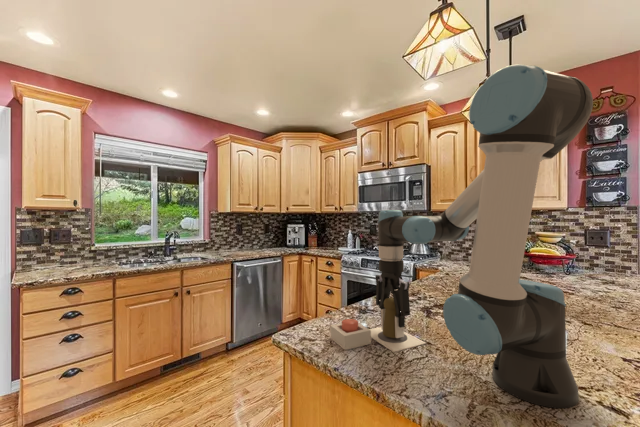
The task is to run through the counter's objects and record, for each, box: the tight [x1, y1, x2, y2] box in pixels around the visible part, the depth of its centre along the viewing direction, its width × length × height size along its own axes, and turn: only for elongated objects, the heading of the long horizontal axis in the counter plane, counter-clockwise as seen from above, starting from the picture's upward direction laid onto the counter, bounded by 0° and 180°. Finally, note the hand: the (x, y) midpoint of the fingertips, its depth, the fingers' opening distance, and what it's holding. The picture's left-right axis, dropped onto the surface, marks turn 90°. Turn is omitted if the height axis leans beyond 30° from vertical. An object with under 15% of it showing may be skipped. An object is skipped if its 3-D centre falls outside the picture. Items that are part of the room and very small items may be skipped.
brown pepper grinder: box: [383, 297, 397, 338], centre depth 89 cm, size 6×6×11 cm
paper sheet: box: [368, 326, 427, 353], centre depth 89 cm, size 16×12×1 cm
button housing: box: [329, 322, 372, 351], centre depth 87 cm, size 9×9×4 cm
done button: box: [341, 318, 359, 333], centre depth 87 cm, size 5×5×3 cm
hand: (392, 332), depth 89 cm, fingers closed on brown pepper grinder, 6 cm apart
